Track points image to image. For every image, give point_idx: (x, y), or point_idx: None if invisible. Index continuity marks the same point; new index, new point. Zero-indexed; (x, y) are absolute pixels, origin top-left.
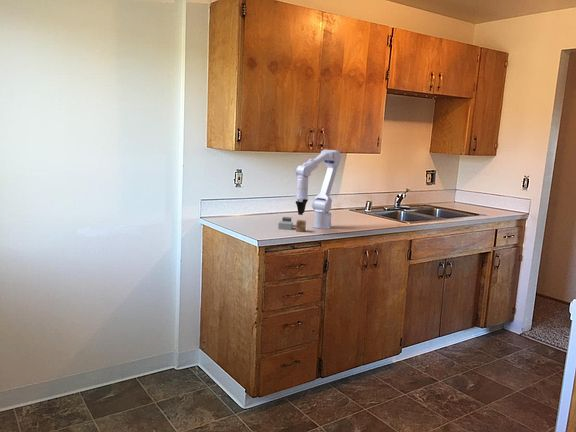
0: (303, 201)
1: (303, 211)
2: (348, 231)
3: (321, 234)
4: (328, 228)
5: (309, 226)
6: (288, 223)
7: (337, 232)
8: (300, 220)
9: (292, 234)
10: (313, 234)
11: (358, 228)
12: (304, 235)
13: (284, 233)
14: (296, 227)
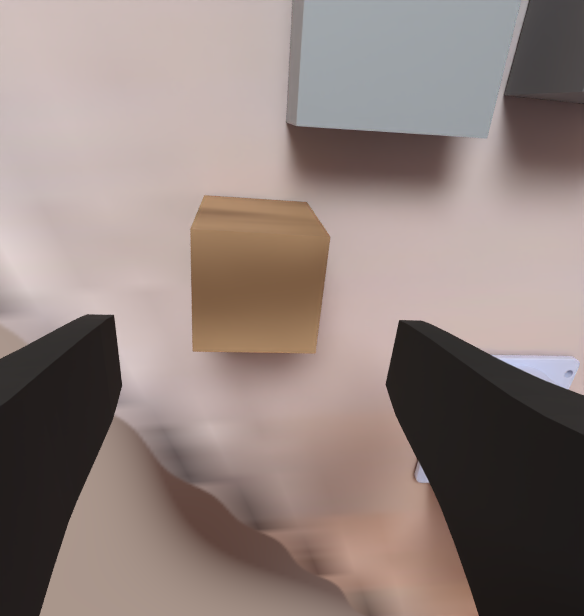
0: (536, 610)
1: (395, 393)
2: (355, 576)
3: (165, 437)
4: (416, 472)
5: (534, 316)
6: (332, 72)
7: (297, 526)
8: (298, 282)
9: (13, 157)
10: (132, 377)
11: (471, 609)
12: (31, 300)
13: (21, 32)
14: (200, 208)
